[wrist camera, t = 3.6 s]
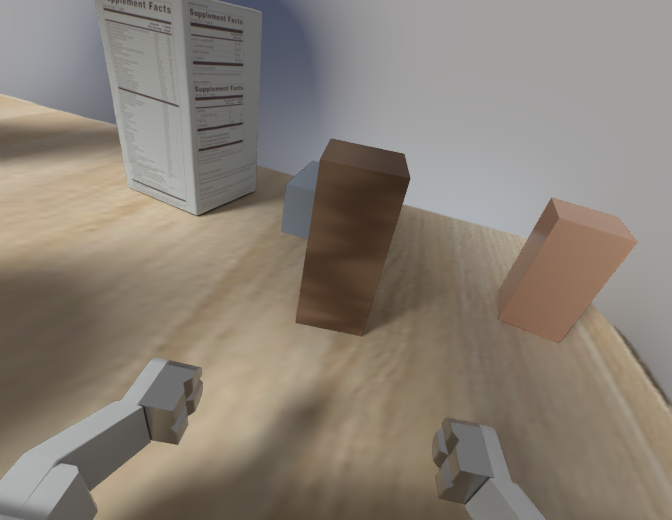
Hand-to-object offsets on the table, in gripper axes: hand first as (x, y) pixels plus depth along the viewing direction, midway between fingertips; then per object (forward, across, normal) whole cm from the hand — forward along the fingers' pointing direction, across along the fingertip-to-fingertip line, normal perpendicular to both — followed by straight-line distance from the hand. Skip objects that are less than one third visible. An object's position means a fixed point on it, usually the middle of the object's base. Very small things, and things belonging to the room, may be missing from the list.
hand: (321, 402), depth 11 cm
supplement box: (+26, +17, +6) cm, 32 cm away
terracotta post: (+16, -16, +6) cm, 23 cm away
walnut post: (+12, 0, +6) cm, 13 cm away
